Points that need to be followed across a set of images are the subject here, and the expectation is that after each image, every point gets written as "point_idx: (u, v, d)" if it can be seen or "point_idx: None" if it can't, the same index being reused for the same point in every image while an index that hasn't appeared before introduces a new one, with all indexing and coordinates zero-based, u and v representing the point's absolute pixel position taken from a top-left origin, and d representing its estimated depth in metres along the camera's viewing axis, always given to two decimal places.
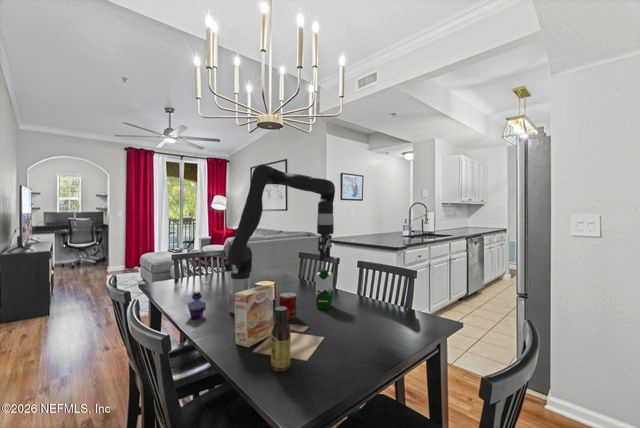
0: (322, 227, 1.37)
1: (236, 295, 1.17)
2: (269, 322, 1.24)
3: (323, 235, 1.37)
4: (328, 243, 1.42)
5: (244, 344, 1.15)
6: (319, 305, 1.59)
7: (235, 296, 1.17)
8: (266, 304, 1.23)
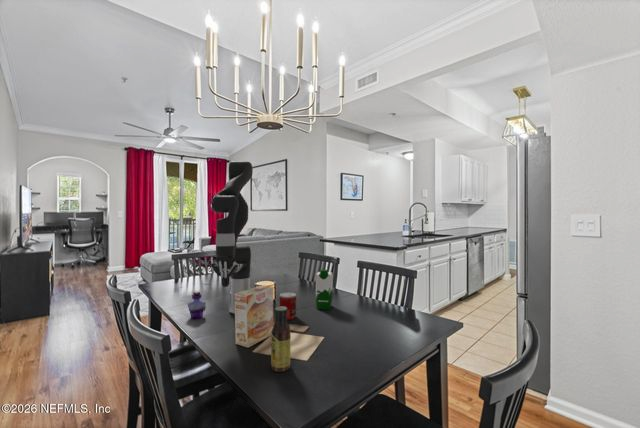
0: (232, 248, 1.24)
1: (236, 295, 1.17)
2: (269, 322, 1.24)
3: (233, 257, 1.25)
4: None
5: (244, 344, 1.15)
6: (319, 305, 1.59)
7: (235, 296, 1.17)
8: (266, 305, 1.23)
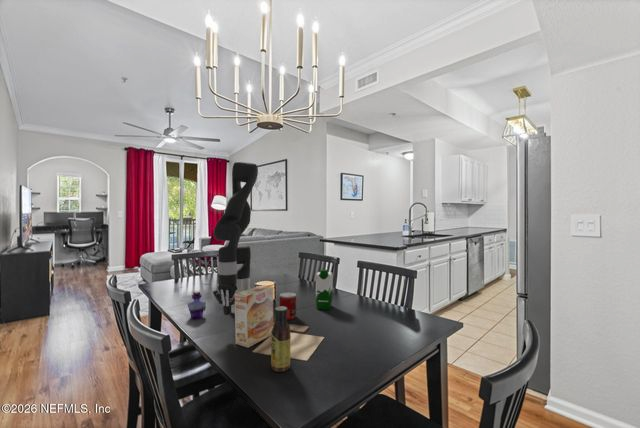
0: (234, 277, 1.24)
1: (236, 295, 1.17)
2: (269, 322, 1.24)
3: (235, 285, 1.25)
4: None
5: (244, 344, 1.15)
6: (319, 305, 1.59)
7: (235, 296, 1.17)
8: (267, 305, 1.23)
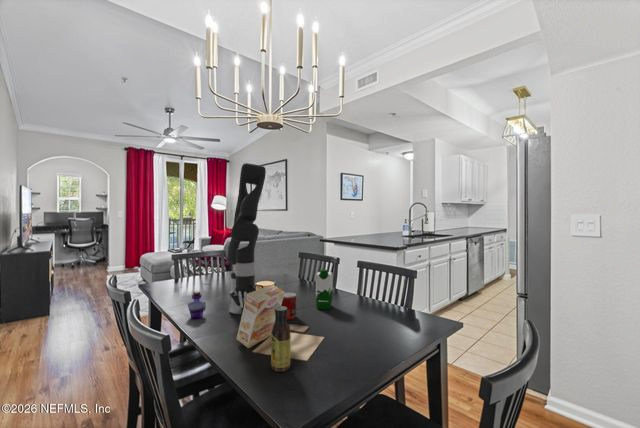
0: (253, 278, 1.21)
1: (248, 296, 1.13)
2: (272, 324, 1.23)
3: (253, 287, 1.22)
4: None
5: (245, 344, 1.15)
6: (319, 305, 1.59)
7: (247, 297, 1.13)
8: None
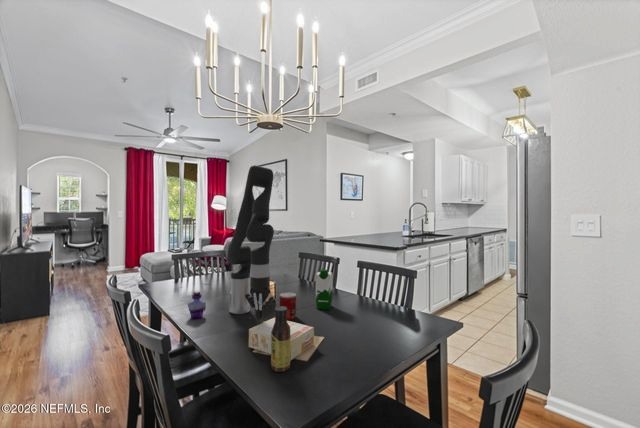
0: (268, 279, 1.20)
1: None
2: None
3: (268, 288, 1.20)
4: None
5: (250, 343, 1.13)
6: (319, 305, 1.59)
7: None
8: None
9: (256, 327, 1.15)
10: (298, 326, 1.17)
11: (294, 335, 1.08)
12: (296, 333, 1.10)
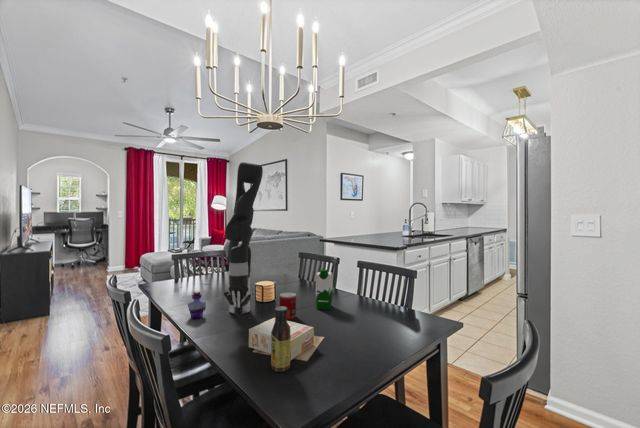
0: (246, 277, 1.23)
1: None
2: None
3: (247, 286, 1.23)
4: None
5: (250, 343, 1.13)
6: (319, 305, 1.59)
7: None
8: None
9: (256, 327, 1.15)
10: (298, 326, 1.17)
11: (294, 335, 1.08)
12: (296, 333, 1.10)
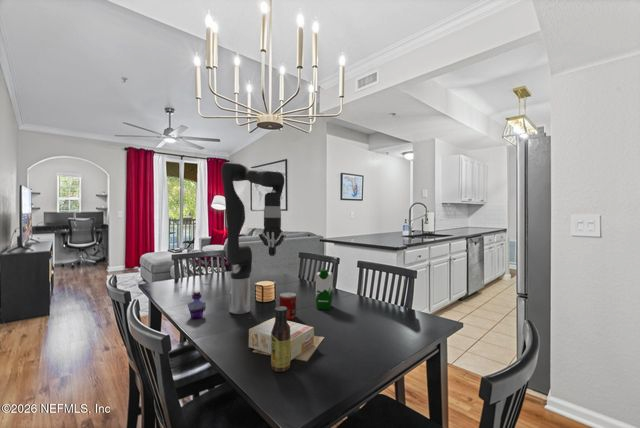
0: (279, 220, 1.35)
1: None
2: None
3: (280, 228, 1.35)
4: None
5: (250, 343, 1.13)
6: (319, 305, 1.59)
7: None
8: None
9: (256, 327, 1.15)
10: (298, 326, 1.17)
11: (294, 335, 1.08)
12: (296, 333, 1.10)
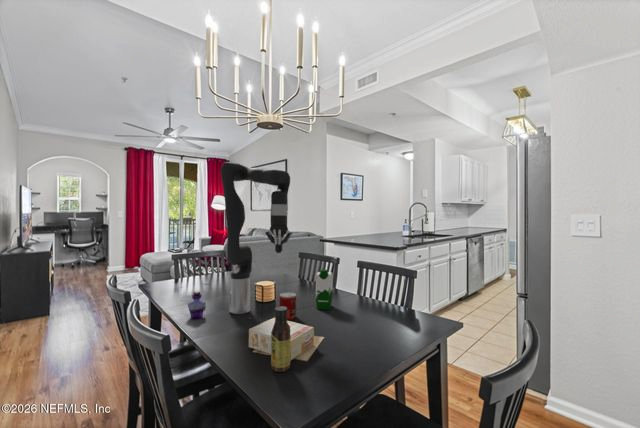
0: (286, 218, 1.38)
1: None
2: None
3: (286, 226, 1.38)
4: None
5: (250, 343, 1.13)
6: (319, 305, 1.59)
7: None
8: None
9: (256, 327, 1.15)
10: (298, 326, 1.17)
11: (294, 335, 1.08)
12: (296, 333, 1.10)
